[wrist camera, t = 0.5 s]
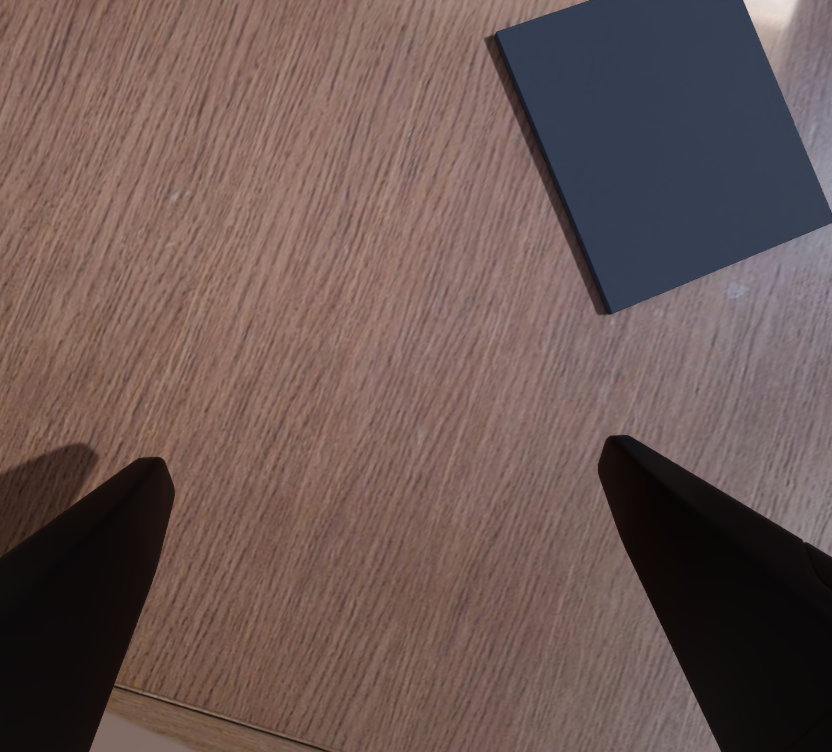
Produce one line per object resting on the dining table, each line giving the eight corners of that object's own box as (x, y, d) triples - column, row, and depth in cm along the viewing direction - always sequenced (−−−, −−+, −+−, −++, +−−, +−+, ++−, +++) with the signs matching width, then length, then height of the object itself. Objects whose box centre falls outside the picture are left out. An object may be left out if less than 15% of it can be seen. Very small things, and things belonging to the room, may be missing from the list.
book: (828, 224, 26) (835, 221, 25) (608, 314, 24) (612, 313, 24) (718, -39, 26) (724, -46, 26) (494, 37, 25) (495, 31, 24)
